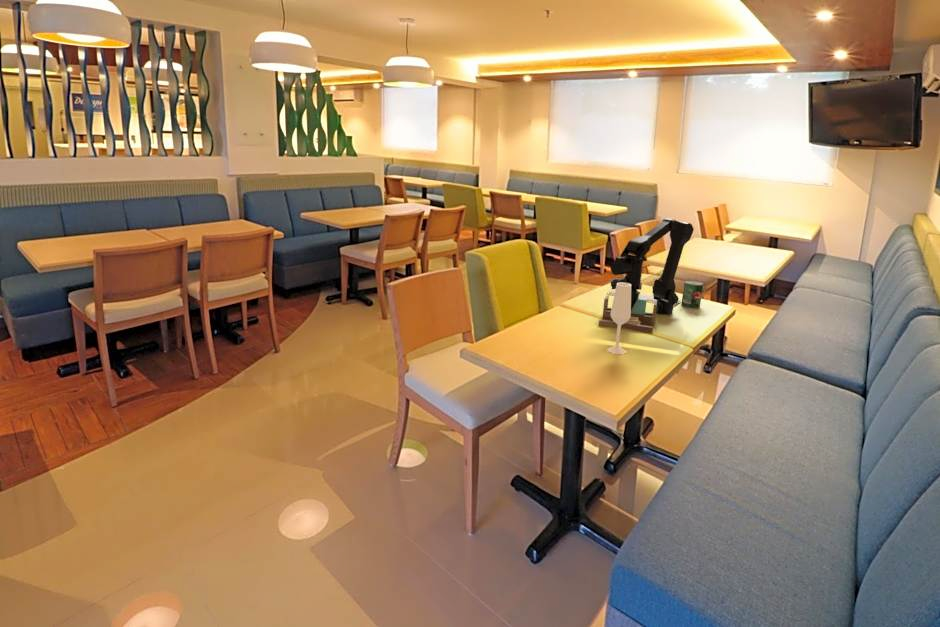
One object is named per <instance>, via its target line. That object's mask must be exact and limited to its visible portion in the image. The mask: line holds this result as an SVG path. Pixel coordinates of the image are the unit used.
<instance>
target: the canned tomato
mask: <svg viewBox="0 0 940 627" xmlns="http://www.w3.org/2000/svg"><path fill="white" fill-rule="evenodd" d="M703 289H704V283H703V282H702V281H699V280H685V281H684V285H683V290H682V291H683V292H682V299H681V302H680V303H681V304H680V306H681V305H682V306H681V307H683V308H685V307H686V308H687V309H692V310H696V309H700V308H701V302H702V301H701V300H702V295H703Z"/></svg>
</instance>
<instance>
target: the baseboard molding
mask: <svg viewBox="0 0 940 627" xmlns="http://www.w3.org/2000/svg"><path fill="white" fill-rule="evenodd" d="M615 290H616V289H612V290H611V289H610V290H608V291H607V293H606V296H613V295H615ZM638 298H642V299H647V302H646V303H649V302H652V303H651V304H654V302H655V301H656V302H657V300H655V299H654V296H653V294H648V293H645V292H644V293H643V292H640V294H639V297H638ZM680 301H681V302H682V299H678V302H677V303H675V304H674V305H673V308H674V307H676V306H678V305H679V304H680V303H681V302H680ZM679 302H680V303H679ZM678 303H679V304H678ZM675 305H676V306H675Z"/></svg>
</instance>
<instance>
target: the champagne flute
mask: <svg viewBox="0 0 940 627" xmlns="http://www.w3.org/2000/svg"><path fill="white" fill-rule="evenodd" d="M614 290H615V289H614ZM611 308H612V309H611V314H610V315H611V318H612V320H613V321H614V322H615V323H616V324H618V326H617V328H616V335H615V336H616V337H615V345H614V346H611V347H608V348H607V349H608V351H609V352H611V353H610V354H612V353H615V354H614V355H617V354H621V355H625V354H626V353H627V351H626V350H625V349H624V348H622V347H621V346H619V345H620V339H621V325H622V324H624V323H626V322H627V321H628V320H629V319H630V317H631V284H629V283H622V282H621V283H617V285H616V290H615V295H614V296H613V301H612V305H611ZM608 351H607V352H608ZM609 352H608V353H609ZM625 352H626V353H625ZM624 353H625V354H624Z"/></svg>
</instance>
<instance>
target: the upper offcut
mask: <svg viewBox="0 0 940 627" xmlns="http://www.w3.org/2000/svg"><path fill="white" fill-rule="evenodd" d="M638 322H639V321H638V317H630V319H629V320H628V321H627V322H626V323H629V324H636V325H638Z"/></svg>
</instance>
